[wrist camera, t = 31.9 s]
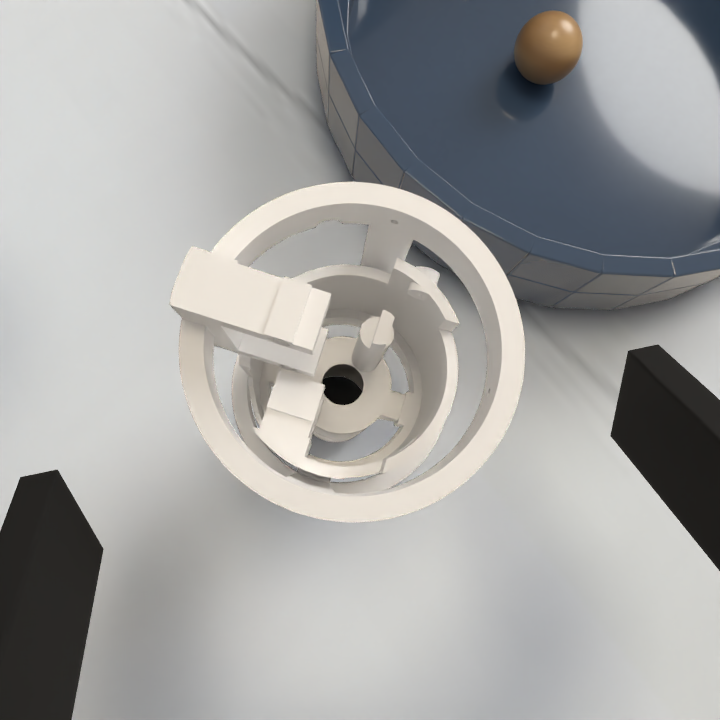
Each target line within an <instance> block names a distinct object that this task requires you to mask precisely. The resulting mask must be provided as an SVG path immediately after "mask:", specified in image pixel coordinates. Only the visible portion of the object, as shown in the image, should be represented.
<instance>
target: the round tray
mask: <svg viewBox="0 0 720 720" xmlns="http://www.w3.org/2000/svg"><path fill="white" fill-rule="evenodd" d="M552 10H554V11H561V12H564V13H566V14H568V15H570V16H571V17H572V18H573V19H574V20H575V21H576V22H577V24H578V25H579V27H580V30H581V33H582V38H583V46H582V52H581V56H580V58H579V61H578V63H577V64H576V66H575V67H574V69H573V70H572V71H571V72H570V73H569V74H568V75H567V76H566V77H564V78H563V79H561V80H560V81H558V82H555V83H552V84H547V85H540V84H535V83H532V82H530V81H528V80H527V79H526V78H524V77H523V76H522V75H521V73H520V72H519V70H518V68H517V66H516V63H515V59H514V47H515V42H516V39H517V36H518V34H519V32H520V30H521V29H522V27H523V26H524V25H525V24H526V23H527V22H528V21H529V20H530V19H531V18H533V17H534V16H536V15H537V14H539V13H542V12H545V11H552ZM316 60H317V76H318V81H319V86H320V91H321V95H322V100H323V105H324V110H325V115H326V120H327V124H328V127H329V129H330V131H331V133H332V135H333V138H334V140H335V142H336V144H337V146H338V148H339V150H340V152H341V155H342V157H343V159H344V161H345V163H346V165H347V167H348V170H349V172H350V174H351V176H353V179H354V180H355V181H356V182H365V183H374V184H380V185H386V186H390V187H394V188H398V189H401V190H405V191H408V192H410V193H413V194H416V195H418V196H420V197H423V198H425V199H427V200H429V201H431V202H433V203H435V204H436V205H438V206H440V207H442V208H443V209H445V210H446V211H448V212H449V213H451V214H452V215H454V216H455V217H456V218H458V219H459V220H460V221H461V222H463V223H464V224H465V225H466V226H467V227H468V228H470V229H471V230H472V231H473V232H474V233H475V234H476V235H477V236H478V237H479V238H480V240H481V241H482V242H483V243H484V244H485V245H486V246H487V248H488V249H489V250H490V252H491V253H492V254H493V256H494V257H495V259H496V260H497V262H498V263H499V265H500V266H501V268H502V270H503V271H504V273H505V275H506V277H507V279H508V281H509V283H510V285H511V288H512V290H513V293H514V295H515V298H517V299H521V300H524V301H528V302H532V303H536V304H539V305H543V306H547V307H553V308H575V309H597V310H615V309H620V308H626V307H631V306H637V305H642V304H647V303H653V302H658V301H664V300H668V299H671V298H673V297H675V296H678V295H680V294H682V293H684V292H686V291H689V290H691V289H693V288H695V287H698V286H700V285H702V284H704V283H706V282H709V281H711V280H713V279H715V278H718V277H720V0H316ZM412 243H413V244H414V245H415V246H417V247H418V248H419V249H420V250H421V251H423V252H424V253H425V254H426V255H427V256H429V257H430V258H431V259H432V260H434V261H435V262H437V263H438V264H439V265H441V266H443V267H445V268H447V269H449V270H451V271H453V270H452V269H451V268H450V267H449V266H448V265H447V264H446V263H445V262H444V261H443V260H442V259H441V258H440V257H439V256H437V255H436V254H435V253H434V252H432V251H431V250H430V249H428V248H427V247H425V246H424V245H422V244H420V243H419V242H417V241H415V240H413V242H412ZM453 272H454V271H453Z"/></svg>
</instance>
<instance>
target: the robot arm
mask: <svg viewBox="0 0 720 720" xmlns="http://www.w3.org/2000/svg"><path fill="white" fill-rule="evenodd" d="M611 437H612V438H613V439H614V441H615V442H616V443H617V444H618V446H619V447H620V448H621V449H622V451H623V452H624V453H625V454H626V455H627V457H628V458H629V459H630V460H631V462H632V463H633V464H634V465H635V467H636V468H637V469H638V470H639V472H640V473H641V474H642V475H643V476H644V478H645V479H646V480H647V481H648V483H649V484H650V485H651V486H652V488H653V489H654V490H655V491H656V493H657V494H658V495H659V496H660V498H661V499H662V500H663V501H664V502H665V504H666V505H667V506H668V507H669V509H670V510H671V511H672V512H673V514H674V515H675V516H676V517H677V519H678V520H679V521H680V522H681V524H682V525H683V526H684V527H685V528H686V530H687V531H688V532H689V533H690V535H691V536H692V537H693V538H694V540H695V541H696V542H697V543H698V545H699V546H700V547H701V548H702V549H703V551H704V552H705V553H706V554H707V556H708V557H709V558H710V559H711V561H712V562H713V563H714V564H715V566H716V567H717V568H718V569H719V571H720V400H719V399H718V398H717V397H716V396H715V395H714V394H713V393H711V392H710V391H709V390H708V389H707V388H706V387H705V386H704V385H702V384H701V383H700V382H699V381H698V380H697V379H696V378H695V377H694V376H692V375H691V374H690V373H689V372H688V371H687V370H686V369H685V368H684V367H682V366H681V365H680V364H679V363H678V362H677V361H676V360H675V359H674V358H672V357H671V356H670V355H669V354H668V353H667V352H666V351H665V350H664V349H662V348H661V347H660V346H659V345H654V346H649V347H644V348H640V349H635V350H630V351H628V354H627V359H626V364H625V369H624V373H623V378H622V383H621V388H620V393H619V397H618V402H617V407H616V412H615V417H614V421H613V426H612V431H611ZM102 554H103V547H102V546H101V544H100V542H99V540H98V539H97V537H96V535H95V534H94V532H93V530H92V528H91V527H90V525H89V523H88V521H87V520H86V518H85V516H84V515H83V513H82V511H81V509H80V508H79V506H78V504H77V502H76V501H75V499H74V497H73V496H72V494H71V492H70V490H69V489H68V487H67V485H66V483H65V482H64V480H63V478H62V477H61V475H60V473H59V471H58V470H53V471H48V472H44V473H39V474H34V475H29V476H24V477H20V480H19V483H18V485H17V488H16V491H15V493H14V496H13V499H12V501H11V504H10V507H9V510H8V512H7V515H6V518H5V520H4V523H3V526H2V529H1V531H0V720H71V719H72V713H73V708H74V703H75V697H76V692H77V687H78V681H79V676H80V671H81V665H82V660H83V655H84V649H85V644H86V639H87V633H88V628H89V623H90V618H91V612H92V607H93V602H94V596H95V591H96V586H97V580H98V575H99V570H100V564H101V559H102Z"/></svg>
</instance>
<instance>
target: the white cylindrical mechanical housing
mask: <svg viewBox="0 0 720 720" xmlns="http://www.w3.org/2000/svg"><path fill="white" fill-rule="evenodd" d="M328 220H338V221H340V222H341V223H342V224H364V225H369V227H368V231H367V236H366V241H365V245H364V250H363V255H362V260H361V264H360V265H332V266H325V267H321V268H317V269H313V270H310V271H308V272H305V273H303V274H300V275H298V276H296V277H294V278H293V279H291V278H288V277H285V276H284V278H281V277H278V276H275V275H272V274H269V273H266V272H262V271H259V270H256V269H253V268H250V267H249V266H250V265H251V264H252V263H253V262H254V261H255V260H256V259H257V258H259V257H260V256H261V255H262V254H263V253H265V252H266V251H267V250H269V249H270V248H271V247H273V246H274V245H276V244H278V243H279V242H281V241H283V240H285V239H287V238H289V237H291V236H293V235H295V234H298V233H300V232H303V231H306V230H309V229H313V228H316V226H317V225H318V224H320V223H322V222H324V221H328ZM413 240H415V241H417V242H419V243H420V244H422V245H424V246H425V247H427V248H428V249H430V250H431V251H432V252H434V253H435V254H436V255H437V256H439V257H440V258H441V259H442V260H443V261H444V262H445V263H446V264H447V265H448V266H449V267H450V268H451V269H452V270H453V271H454V272H455V273H456V275H457V276H458V277H459V278H460V280H461V281H462V282H463V284H464V285H465V287H466V288H467V290H468V292H469V294H470V295H471V297H472V299H473V301H474V303H475V305H476V308H477V310H478V313H479V315H480V318H481V321H482V325H483V329H484V333H485V339H486V347H487V373H486V381H485V387H484V391H483V395H482V398H481V402H480V404H479V407H478V410H477V412H476V414H475V417H474V419H473V421H472V423H471V424H470V426H469V428H468V430H467V431H466V433H465V434H464V436H463V437H462V438H461V440H460V441H459V442H458V444H457V445H456V446H455V447H454V448H453V449H452V450H451V452H450V453H449V454H448V455H447V456H446V457H444V458H443V459H442V460H441V461H440V462H439V463H438V464H436V465H435V466H434V467H432V468H431V469H429V470H428V471H426V472H425V473H423V474H422V475H420V476H418V477H416V478H414V479H412V480H410V481H408V482H406V483H403V484H401V485H398V486H395V487H392V486H394V485H396V484H397V483H399V482H401V481H402V480H403V479H405V478H406V477H408V476H409V475H410V474H411V473H412V472H413V471H415V470H416V469H417V468H418V467H419V466H420V465H421V463H422V462H423V461H424V460H425V459H426V458H427V456H428V455H429V453H430V452H431V451H432V449H433V447H434V446H435V444H436V442H437V440H438V438H439V436H440V434H441V431H442V429H443V426H444V423H445V421H446V419H447V417H448V415H449V413H450V410H451V408H452V405H453V402H454V398H455V394H456V390H457V383H458V356H457V350H456V345H455V341H454V337H453V334H452V331H453V330H454V329H455V328H456V327H457V326H458V325H459V321H458V319H457V316H456V314H455V312H454V310H453V308H452V307H451V305H450V303H449V302H448V300H447V299H446V297H445V296H444V294H443V293H442V292H441V291H440V289H439V288H438V287H437V283H438V280H439V276H440V274H439V273H438V272H437V271H435V270H433V269H431V268H428V267H423V266H418V267H414V266H412V265H411V264H409V263H407V262H405V258H406V256H407V254H408V251H409V249H410V247H411V244H412V242H413ZM169 305H170V306H171V307H172V308H173V309H174V310H175V311H176V312H177V313H178V314H179V315H180V316H181V317H182V320H181V326H180V335H179V365H180V374H181V380H182V385H183V390H184V393H185V397H186V400H187V403H188V406H189V409H190V412H191V414H192V417H193V419H194V421H195V423H196V425H197V427H198V429H199V431H200V433H201V435H202V436H203V438H204V440H205V441H206V443H207V444H208V446H209V447H210V449H211V450H212V451H213V453H214V454H215V455H216V457H217V458H218V459H219V460H220V461H221V463H222V464H223V465H224V466H225V467H226V468H227V469H228V470H229V471H230V472H231V473H232V474H233V475H234V476H235V477H236V478H237V479H239V480H240V481H241V482H242V483H243V484H245V485H246V486H247V487H249V488H250V489H251V490H253V491H254V492H256V493H257V494H259V495H260V496H262V497H264V498H265V499H267V500H269V501H271V502H273V503H275V504H277V505H279V506H281V507H283V508H285V509H288V510H290V511H293V512H296V513H299V514H302V515H305V516H309V517H313V518H317V519H322V520H328V521H337V522H371V521H380V520H386V519H391V518H395V517H399V516H403V515H406V514H409V513H412V512H415V511H417V510H420V509H422V508H425V507H427V506H429V505H431V504H433V503H435V502H437V501H439V500H440V499H442V498H444V497H445V496H447V495H449V494H450V493H452V492H453V491H454V490H456V489H457V488H459V487H460V486H461V485H462V484H464V483H465V482H466V481H467V480H468V479H469V478H471V477H472V476H473V475H474V474H475V473H476V472H477V471H478V470H479V469H480V468H481V467H482V465H483V464H484V463H485V462H486V461H487V460H488V458H489V457H490V456H491V455H492V453H493V452H494V450H495V449H496V448H497V446H498V444H499V443H500V441H501V440H502V438H503V436H504V434H505V433H506V431H507V429H508V427H509V425H510V422H511V420H512V418H513V415H514V413H515V410H516V407H517V404H518V401H519V397H520V393H521V389H522V384H523V377H524V368H525V340H524V331H523V325H522V319H521V315H520V311H519V307H518V304H517V301H516V298H515V295H514V293H513V290H512V288H511V285H510V283H509V281H508V279H507V277H506V275H505V273H504V271H503V270H502V268H501V266H500V265H499V263H498V262H497V260H496V259H495V257H494V256H493V254H492V253H491V252H490V250H489V249H488V248H487V246H486V245H485V244H484V243H483V242H482V241H481V240H480V238H479V237H478V236H477V235H476V234H475V233H474V232H473V231H472V230H471V229H470V228H468V227H467V226H466V225H465V224H464V223H463V222H461V221H460V220H459V219H458V218H456V217H455V216H454V215H452V214H451V213H449V212H448V211H446V210H445V209H443V208H442V207H440V206H438V205H436V204H435V203H433V202H431V201H429V200H427V199H425V198H423V197H420V196H418V195H416V194H413V193H410V192H408V191H405V190H401V189H398V188H394V187H390V186H386V185H380V184H374V183H365V182H335V183H326V184H319V185H314V186H310V187H306V188H302V189H299V190H296V191H293V192H290V193H287V194H285V195H282V196H280V197H278V198H275V199H273V200H271V201H269V202H268V203H266V204H264V205H262V206H260V207H259V208H257V209H256V210H254V211H253V212H251V213H250V214H248V215H247V216H246V217H244V218H243V219H242V220H241V221H239V222H238V223H237V224H236V225H235V226H234V227H232V228H231V229H230V230H229V231H228V232H227V233H226V234H225V235H224V236H223V238H222V239H221V240H220V241H219V242H218V243H217V244H216V246H215V247H214V248H213V250H212V251H211V252H209V251H206V250H203V249H200V248H197V247H194V246H192V247H191V249H190V250H189V252H188V253H187V255H186V256H185V259H184V261H183V264H182V266H181V269H180V272H179V274H178V277H177V279H176V282H175V284H174V287H173V290H172V292H171V298H170V304H169ZM329 325H350V326H355V327H359V328H360V332H359V335H358V338H357V339H356V338H353V337H345V336H340V337H332V338H328V339H327V336H328V330H329V329H327V328H323V327H324V326H329ZM214 346H217V347H220V348H223V349H227V350H230V351H233V352H236V353H238V356H237V359H236V362H235V366H234V370H233V376H232V405H233V411H234V416H235V420H236V423H237V426H238V429H239V432H240V434H241V436H242V438H243V440H244V442H245V443H244V442H243V441H242V440H241V438H240V437H239V436H238V434H237V433H236V431H235V430H234V428H233V426H232V425H231V423H230V421H229V419H228V417H227V415H226V413H225V411H224V408H223V406H222V403H221V401H220V397H219V394H218V390H217V386H216V381H215V375H214V364H213V350H214ZM389 346H390V347H391V348H392V349H393V350H394V352H395V353H396V354H397V356H398V357H399V359H400V361H401V363H402V365H403V367H404V370H405V373H406V376H407V381H408V388H409V392H408V391H407V392H406V393H405V394H401V393H398V392H395V391H392V390H391V376H390V372H389V369H388V366H387V364H386V362H385V360H384V359H383V356H384V354H385V352H386V351H387V349H388V348H389ZM332 376H339V377H344V378H347V379H349V380H351V381H353V382H354V383H356V384H357V385H358V386H359V387H360V389H361V390H362V393H361V395H360V397H359V398H358V399H357V400H356V401H355V402H353V403H351V404H348V405H338V404H335V403H333V402H331V401H330V400H329V399H328V398H327V397H326V396H325V394H324V389H325V385H324V384H322V380H323V379H324V378H327V377H332ZM271 386H272V387H273V389H272V392H271ZM251 401H252V405H251ZM252 406H253V411H252ZM253 412H254V415H255V417H256V420H257V422H258V424H259V426H260V429H258V428H257V425H256V422H255V419H254V415H253ZM377 419H381V420H387V421H393V422H394V426H397V427H399V429H398V431H397V432H396V434H395V435H394V436H393V437H392V439H391V440H390V441H389V442H388V443H387V444H385V445H384V446H383V447H382V448H380V449H379V450H378V451H376V452H374V453H372V454H370V455H368V456H366V457H363V458H360V459H357V460H352V461H329V460H324V459H321V458H317V457H315V456H312V455H310V454H308V453H309V450H310V447H311V444H312V442H311V438H312V435H313V434H314V435H315V436H316V437H318V438H320V439H322V440H324V441H328V442H343V441H347V440H349V439H352V438H353V437H355V436H357V435H358V434H359V433H361V432H362V431H363V430H365V429H366V428H367V427H368V426H370V425H371V424H372V423H374V422H375V421H376V420H377ZM245 444H246V445H245ZM271 450H273V451H274V452H275V453H276V454H277V455H279V456H280V457H281V458H283V459H284V460H286V461H287V462H289V463H291V464H293V465H294V466H296V467H298V469H297V471H295V470H294V469H292V468H290V467H289V466H288V465H286V464H285V463H284V462H282V461H281V460H280V459H279V458H278V457H277V456H276V455H275V454H274V453H273V452H272V451H271ZM376 473H378V474H376ZM373 474H376V475H374V476H372V477H369V478H366V479H362V480H358V481H352V482H330V479H331V478H337V479H344V478H354V477H363V476H368V475H373ZM390 487H392V488H390ZM388 488H389V489H388Z"/></svg>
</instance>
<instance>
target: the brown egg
mask: <svg viewBox="0 0 720 720" xmlns="http://www.w3.org/2000/svg"><path fill="white" fill-rule="evenodd" d="M582 46H583V38H582V33H581V30H580V27H579V25H578V24H577V22H576V21H575V20H574V19H573V18H572V17H571V16H570V15H568V14H566V13H564V12H561V11H554V10H552V11H545V12H542V13H539V14H537V15H536V16H534V17H533V18H531V19H530V20H529V21H528V22H527V23H526V24H525V25H524V26H523V27H522V29H521V30H520V32H519V34H518V36H517V39H516V42H515V47H514V59H515V63H516V66H517V68H518V70H519V72H520V73H521V75H522V76H523V77H524V78H526V79H527V80H528V81H530V82H532V83H535V84H540V85H547V84H552V83H555V82H558V81H560V80H561V79H563V78H564V77H566V76H567V75H568V74H569V73H570V72H571V71H572V70H573V69H574V67H575V66H576V64H577V63H578V61H579V58H580V56H581V52H582Z"/></svg>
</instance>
